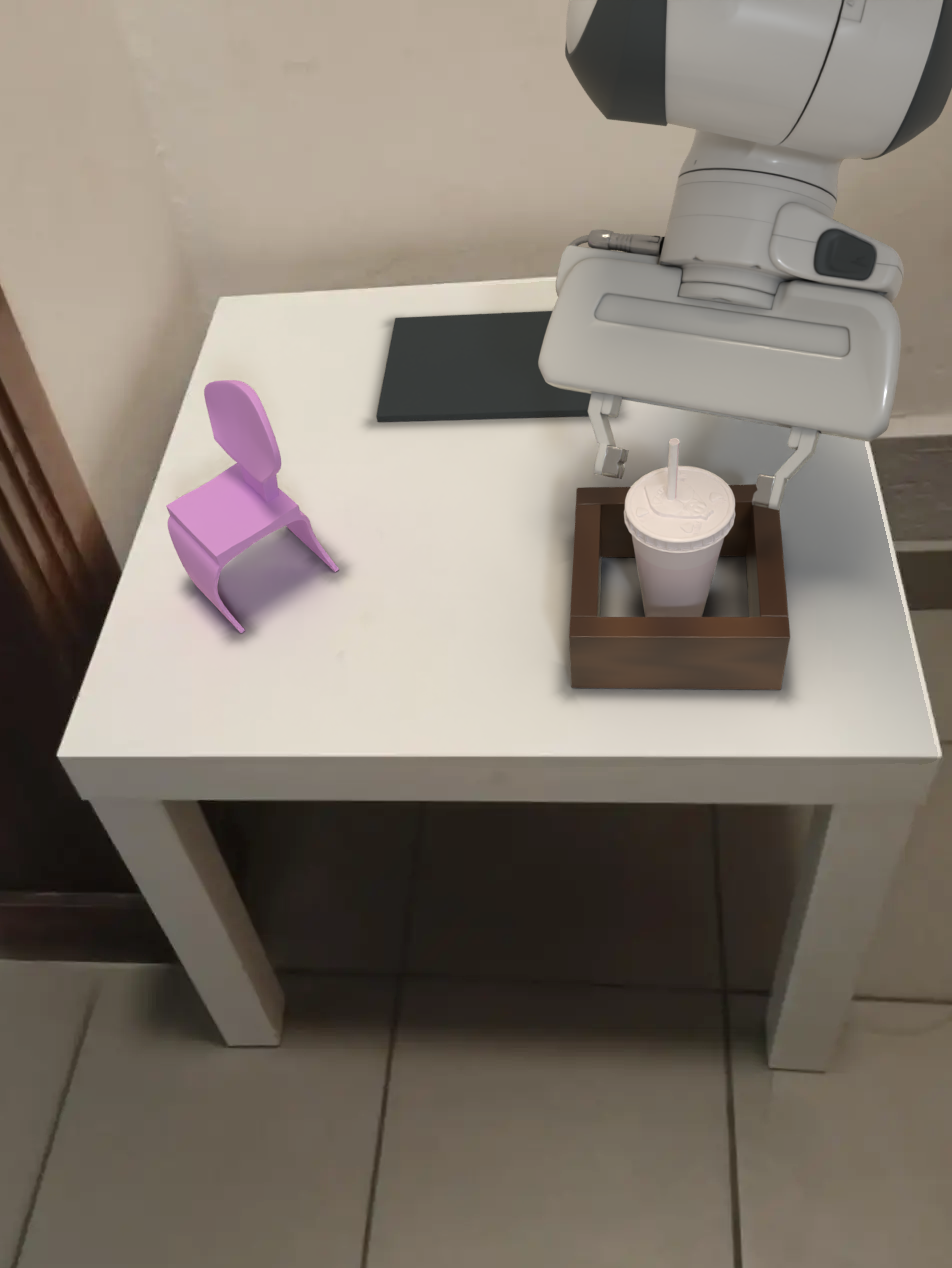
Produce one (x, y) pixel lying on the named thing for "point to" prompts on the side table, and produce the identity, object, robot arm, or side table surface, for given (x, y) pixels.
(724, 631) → the crate
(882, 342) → the robot arm
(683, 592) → the smoothie
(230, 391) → the toy chair
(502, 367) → the mat
